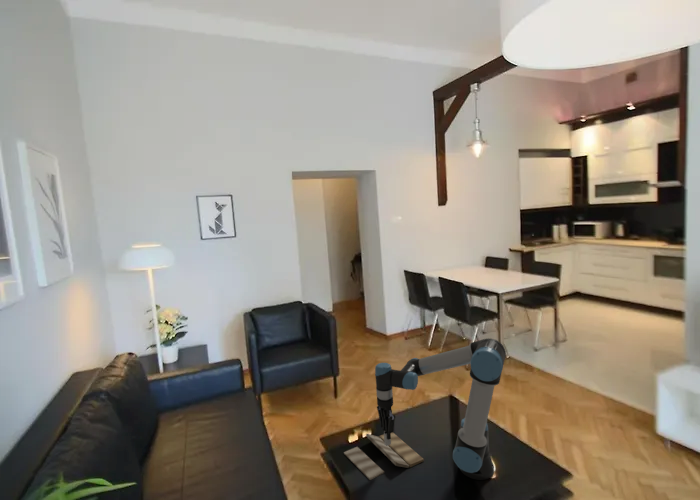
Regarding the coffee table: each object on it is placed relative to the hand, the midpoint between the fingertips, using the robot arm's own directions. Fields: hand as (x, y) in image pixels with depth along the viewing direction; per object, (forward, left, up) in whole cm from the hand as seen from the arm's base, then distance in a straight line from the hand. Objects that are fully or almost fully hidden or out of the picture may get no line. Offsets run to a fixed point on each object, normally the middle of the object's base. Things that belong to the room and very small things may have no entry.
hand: (387, 444), depth 177 cm
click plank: (+8, -3, -9) cm, 12 cm away
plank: (+9, +9, -12) cm, 17 cm away
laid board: (+8, -12, -11) cm, 18 cm away
